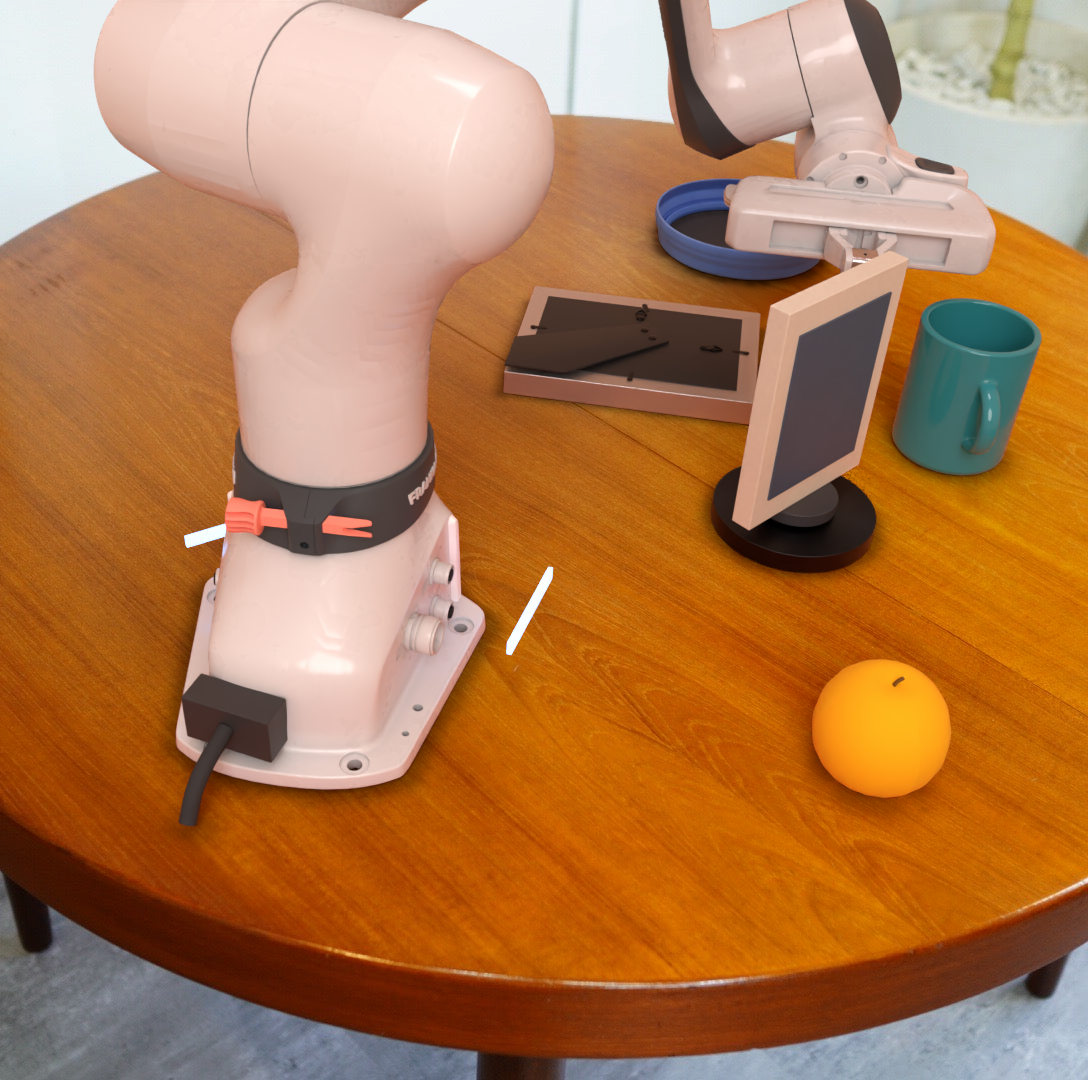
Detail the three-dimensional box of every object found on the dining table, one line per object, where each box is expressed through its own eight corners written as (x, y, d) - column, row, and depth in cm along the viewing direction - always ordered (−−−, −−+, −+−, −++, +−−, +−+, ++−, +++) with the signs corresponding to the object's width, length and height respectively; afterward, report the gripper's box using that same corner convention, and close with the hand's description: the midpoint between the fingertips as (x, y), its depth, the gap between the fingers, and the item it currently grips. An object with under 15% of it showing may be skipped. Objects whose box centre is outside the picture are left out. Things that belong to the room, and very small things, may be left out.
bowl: (852, 283, 130) (859, 250, 128) (674, 288, 127) (678, 254, 125) (797, 206, 144) (802, 175, 142) (636, 209, 141) (639, 177, 139)
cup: (910, 499, 101) (946, 373, 94) (879, 414, 111) (910, 294, 104) (1026, 504, 102) (1070, 379, 95) (986, 419, 111) (1023, 300, 104)
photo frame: (880, 488, 99) (937, 270, 88) (771, 557, 92) (818, 328, 81) (816, 453, 102) (863, 238, 91) (706, 517, 95) (743, 291, 84)
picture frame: (503, 393, 110) (751, 425, 108) (504, 363, 108) (756, 395, 107) (533, 306, 123) (757, 333, 121) (535, 278, 121) (761, 305, 119)
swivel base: (878, 582, 93) (882, 565, 92) (708, 562, 94) (711, 545, 93) (866, 485, 102) (870, 469, 102) (712, 467, 103) (714, 451, 102)
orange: (792, 717, 82) (814, 627, 77) (917, 721, 82) (946, 631, 78) (815, 818, 76) (840, 727, 71) (950, 821, 76) (984, 730, 71)
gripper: (729, 144, 106) (727, 215, 95) (986, 170, 105) (1015, 245, 94) (718, 218, 110) (715, 294, 99) (966, 244, 109) (991, 323, 98)
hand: (863, 270), depth 96 cm, fingers closed
